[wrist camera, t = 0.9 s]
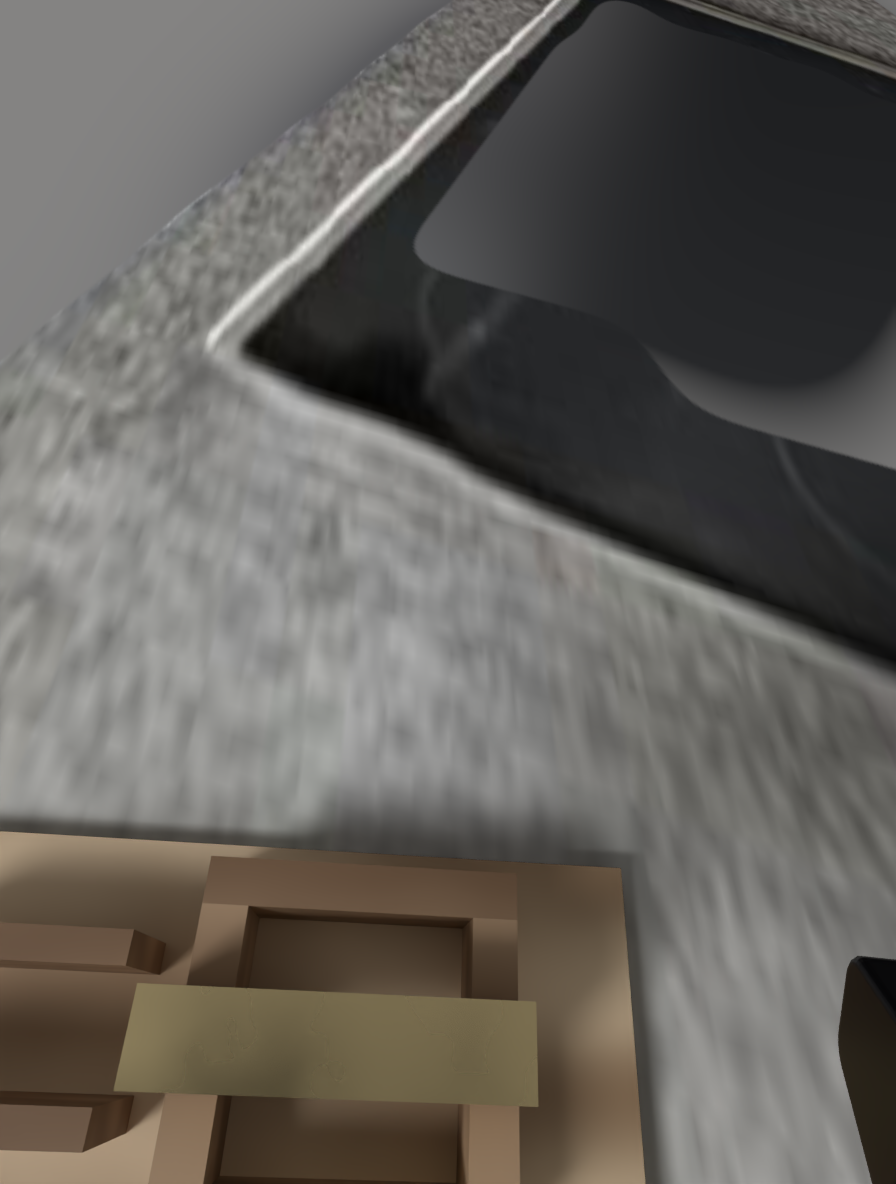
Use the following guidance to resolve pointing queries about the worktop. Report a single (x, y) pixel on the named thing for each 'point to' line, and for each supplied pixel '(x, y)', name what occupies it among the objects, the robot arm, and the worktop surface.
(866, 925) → the worktop surface
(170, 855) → the dock board
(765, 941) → the worktop surface
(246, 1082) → the bar
